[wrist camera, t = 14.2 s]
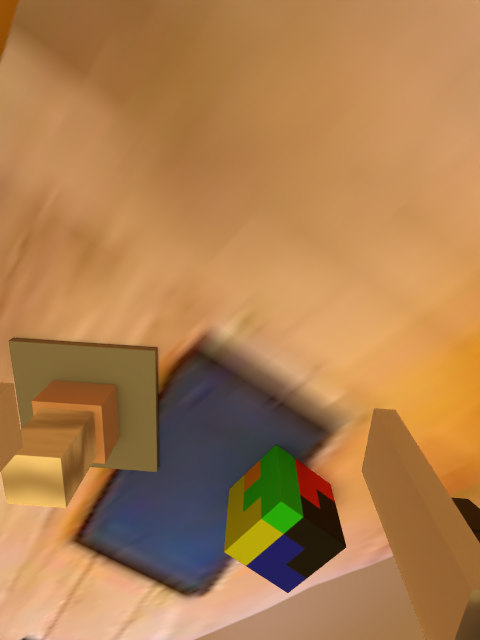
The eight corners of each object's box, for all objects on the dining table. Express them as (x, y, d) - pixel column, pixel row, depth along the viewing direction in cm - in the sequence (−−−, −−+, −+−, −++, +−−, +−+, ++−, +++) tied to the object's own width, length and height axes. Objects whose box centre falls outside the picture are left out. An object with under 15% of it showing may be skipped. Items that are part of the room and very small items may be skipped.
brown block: (41, 408, 44) (-2, 453, 37) (93, 411, 44) (60, 458, 37) (47, 451, 46) (6, 503, 39) (96, 455, 46) (66, 507, 39)
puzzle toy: (282, 525, 57) (287, 593, 47) (229, 488, 55) (224, 551, 45) (330, 483, 54) (346, 547, 44) (276, 444, 52) (281, 501, 43)
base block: (53, 380, 49) (31, 401, 44) (116, 384, 49) (101, 405, 44) (59, 434, 51) (39, 459, 47) (119, 438, 51) (105, 463, 47)
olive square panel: (13, 337, 48) (8, 340, 47) (157, 347, 48) (155, 350, 47) (30, 457, 54) (26, 462, 53) (158, 466, 54) (157, 471, 53)
